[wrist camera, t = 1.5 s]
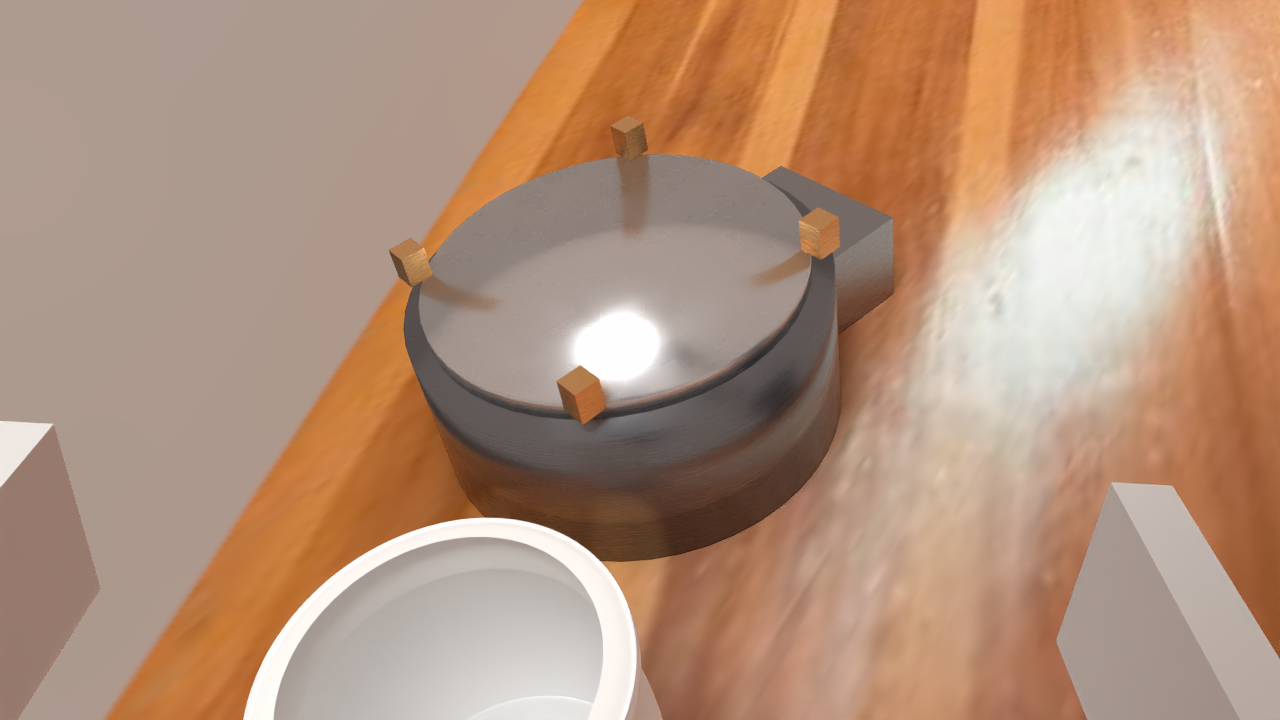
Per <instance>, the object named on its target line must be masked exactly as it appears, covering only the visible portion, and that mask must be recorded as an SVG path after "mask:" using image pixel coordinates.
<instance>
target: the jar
mask: <svg viewBox="0 0 1280 720" xmlns="http://www.w3.org/2000/svg"><path fill="white" fill-rule="evenodd" d="M244 720H663V718H662V715H661V712H660V709H659V706H658V704H657V701H656V698H655V696H654V693H653V691H652V689H651V686H650V684H649V682H648V680H647V678H646V676H645V674H644V672H643V670H642V668H641V653H640V644H639V638H638V633H637V629H636V626H635V622H634V619H633V616H632V613H631V611H630V608H629V606H628V604H627V602H626V600H625V597H624V595H623V593H622V591H621V589H620V587H619V586H618V584H617V582H616V581H615V579H614V578H613V576H612V575H611V574H610V572H609V571H608V570H607V568H606V567H605V566H604V565H603V564H602V563H601V562H600V561H599V560H598V559H597V558H596V557H595V556H594V555H593V554H592V553H591V552H590V551H588V550H587V549H586V548H584V547H583V546H582V545H580V544H579V543H577V542H576V541H574V540H573V539H571V538H569V537H567V536H565V535H563V534H561V533H559V532H557V531H555V530H552V529H550V528H547V527H544V526H541V525H537V524H534V523H530V522H525V521H520V520H513V519H504V518H472V519H462V520H455V521H449V522H444V523H440V524H435V525H432V526H428V527H424V528H421V529H418V530H415V531H412V532H409V533H407V534H404V535H402V536H399V537H397V538H395V539H392V540H390V541H388V542H386V543H384V544H382V545H380V546H378V547H376V548H374V549H372V550H371V551H369V552H367V553H365V554H364V555H362V556H361V557H359V558H357V559H356V560H354V561H353V562H351V563H350V564H348V565H347V566H346V567H344V568H343V569H341V570H340V571H339V572H337V573H336V574H335V575H334V576H332V577H331V578H330V579H329V580H328V581H326V582H325V583H324V584H323V585H322V586H321V587H320V588H319V589H317V590H316V591H315V592H314V593H313V594H312V595H311V596H310V597H309V598H308V599H307V600H306V601H305V602H304V604H303V605H302V606H301V607H300V608H299V609H298V610H297V611H296V613H295V614H294V615H293V616H292V617H291V619H290V620H289V621H288V622H287V624H286V625H285V626H284V628H283V629H282V631H281V632H280V634H279V635H278V636H277V638H276V640H275V641H274V643H273V644H272V646H271V648H270V649H269V651H268V653H267V655H266V657H265V658H264V660H263V662H262V664H261V667H260V669H259V671H258V673H257V675H256V678H255V680H254V683H253V686H252V689H251V692H250V695H249V698H248V702H247V705H246V710H245V714H244Z"/></svg>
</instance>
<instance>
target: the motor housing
mask: <svg viewBox="0 0 1280 720" xmlns="http://www.w3.org/2000/svg"><path fill="white" fill-rule="evenodd" d="M610 127H611V132H612V137H613V142H614V147H615V152H616V153H617V154H619V155H621V156H622V157H614V158H607V159H601V160H596V161H591V162H586V163H582V164H578V165H575V166H571V167H567V168H563V169H560V170H557V171H555V172H552V173H549V174H546V175H543V176H540V177H538V178H536V179H533V180H531V181H529V182H526V183H524V184H522V185H520V186H518V187H516V188H514V189H512V190H510V191H508V192H506V193H504V194H502V195H501V196H499V197H497V198H496V199H494V200H493V201H491V202H489V203H488V204H486V205H485V206H483V207H482V208H481V209H479V210H478V211H477V212H475V213H474V214H473V215H471V216H470V217H469V218H467V219H466V220H465V221H464V222H463V223H462V224H461V225H460V226H459V227H458V228H457V229H455V230H454V231H453V233H452V234H451V235H450V236H449V237H448V238H447V239H446V241H445V242H444V243H443V244H442V245H441V247H440V248H439V249H438V251H437V252H436V253H435V254H434V255H433V256H432V257H431V259H430V260H429V261H428V259H427V256H426V253H425V250H424V248H423V247H422V246H421V245H419V244H418V243H417V242H415V241H414V240H412V239H411V238H410V239H408V240H406V241H404V242H402V243H400V244H399V245H397V246H395V247H393V248H392V249H390V250H389V252H390V255H391V257H392V260H393V263H394V265H395V268H396V271H397V273H398V276H399V278H401V279H402V280H403V281H404V282H406V283H407V284H408V285H409V286H411V287H413V286H414V287H413V289H412V291H411V293H410V296H409V300H408V303H407V306H406V310H405V319H404V336H405V345H406V349H407V351H408V354H409V357H410V360H411V363H412V366H413V368H414V371H415V373H416V376H417V378H418V381H419V383H420V386H421V388H422V391H423V393H424V396H425V398H426V401H427V403H428V406H429V408H430V411H431V413H432V416H433V418H434V421H435V423H436V426H437V428H438V431H439V433H440V436H441V438H442V441H443V443H444V446H445V448H446V451H447V453H448V456H449V458H450V461H451V463H452V466H453V468H454V471H455V473H456V476H457V478H458V481H459V483H460V484H461V486H462V488H463V490H464V491H465V493H466V495H467V497H468V498H469V500H470V501H471V502H472V503H473V504H474V505H475V507H476V508H477V509H478V510H479V511H480V513H481V514H482V515H483V516H485V517H486V518H504V519H513V520H520V521H525V522H530V523H534V524H537V525H541V526H544V527H547V528H550V529H552V530H555V531H557V532H559V533H561V534H563V535H565V536H567V537H569V538H571V539H573V540H574V541H576V542H577V543H579V544H580V545H582V546H583V547H584V548H586V549H587V550H588V551H590V552H591V553H592V554H593V555H594V556H595V557H596V558H597V559H598V560H599V561H632V560H646V559H654V558H660V557H665V556H671V555H676V554H681V553H684V552H688V551H691V550H695V549H698V548H702V547H705V546H708V545H711V544H713V543H716V542H718V541H721V540H723V539H725V538H728V537H730V536H733V535H735V534H737V533H739V532H741V531H742V530H744V529H746V528H748V527H750V526H752V525H753V524H755V523H757V522H759V521H760V520H762V519H763V518H765V517H766V516H768V515H769V514H770V513H772V512H773V511H775V510H776V509H777V508H779V507H780V506H782V505H783V504H784V503H785V502H786V501H787V500H788V499H789V498H790V497H792V496H793V495H794V494H795V493H796V492H797V491H798V490H799V489H800V488H801V487H802V486H803V485H804V484H805V482H806V481H807V480H808V479H809V478H810V476H811V475H812V474H813V473H814V472H815V471H816V469H817V468H818V466H819V464H820V463H821V461H822V459H823V458H824V456H825V455H826V453H827V451H828V449H829V447H830V444H831V442H832V439H833V437H834V435H835V432H836V429H837V424H838V419H839V415H840V403H841V385H840V364H839V342H838V334H839V333H841V332H842V331H843V330H845V329H846V328H847V327H849V326H850V325H851V324H853V323H854V322H855V321H857V320H858V319H860V318H861V317H862V316H864V315H865V314H866V313H868V312H869V311H870V310H872V309H873V308H874V307H876V306H877V305H879V304H880V303H881V302H883V301H884V300H885V299H887V298H888V297H889V296H891V295H892V294H893V218H892V217H890V216H888V215H886V214H883V213H881V212H879V211H877V210H875V209H873V208H870V207H868V206H866V205H864V204H862V203H860V202H857V201H855V200H853V199H851V198H849V197H847V196H845V195H842V194H840V193H838V192H836V191H834V190H832V189H829V188H827V187H825V186H823V185H821V184H819V183H817V182H814V181H812V180H810V179H808V178H806V177H804V176H801V175H799V174H797V173H795V172H793V171H791V170H788V169H786V168H784V167H782V166H780V167H778V168H777V169H775V170H774V171H772V172H771V173H769V174H767V175H766V176H764V177H763V178H760V177H759V176H757V175H755V174H753V173H751V172H748V171H746V170H743V169H741V168H738V167H736V166H732V165H729V164H726V163H722V162H719V161H714V160H709V159H704V158H699V157H691V156H681V155H660V154H650V155H640V154H641V153H643V152H645V151H647V150H648V148H647V142H646V137H645V131H644V125H643V122H641V121H638V120H636V119H634V118H632V117H630V116H627V117H625V118H623V119H621V120H620V121H618V122H616V123H614V124H612V125H611V126H610Z"/></svg>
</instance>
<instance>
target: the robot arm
mask: <svg viewBox="0 0 1280 720" xmlns="http://www.w3.org/2000/svg"><path fill="white" fill-rule="evenodd" d="M100 589H101V588H100V585H99V581H98V578H97V574H96V571H95V567H94V564H93V561H92V557H91V553H90V550H89V547H88V543H87V539H86V536H85V532H84V529H83V526H82V522H81V518H80V515H79V512H78V508H77V504H76V501H75V497H74V494H73V490H72V487H71V483H70V480H69V476H68V473H67V469H66V466H65V462H64V459H63V456H62V452H61V448H60V445H59V441H58V438H57V434H56V431H55V427H54V424H43V423H25V422H7V421H0V720H18V718H19V716H20V715H21V713H22V712H23V710H24V708H25V707H26V705H27V704H28V702H29V701H30V699H31V698H32V696H33V694H34V692H35V691H36V690H37V688H38V686H39V685H40V683H41V682H42V680H43V679H44V677H45V675H46V674H47V672H48V671H49V669H50V668H51V666H52V664H53V663H54V661H55V660H56V658H57V657H58V655H59V653H60V652H61V650H62V649H63V647H64V646H65V644H66V642H67V641H68V639H69V638H70V636H71V634H72V633H73V631H74V629H75V628H76V627H77V625H78V623H79V622H80V620H81V619H82V617H83V616H84V614H85V612H86V611H87V609H88V608H89V606H90V604H91V603H92V601H93V600H94V598H95V597H96V595H97V593H98V592H99V590H100ZM1056 642H1057V645H1058V648H1059V650H1060V653H1061V655H1062V658H1063V660H1064V663H1065V665H1066V668H1067V670H1068V673H1069V675H1070V678H1071V680H1072V683H1073V685H1074V688H1075V690H1076V693H1077V695H1078V698H1079V700H1080V703H1081V705H1082V708H1083V711H1084V713H1085V716H1086V718H1087V720H1280V659H1279V657H1278V656H1277V654H1276V652H1275V651H1274V649H1273V647H1272V646H1271V644H1270V643H1269V641H1268V639H1267V638H1266V636H1265V635H1264V633H1263V631H1262V630H1261V628H1260V626H1259V625H1258V623H1257V622H1256V620H1255V618H1254V617H1253V615H1252V613H1251V612H1250V610H1249V609H1248V607H1247V605H1246V604H1245V602H1244V601H1243V599H1242V597H1241V596H1240V594H1239V592H1238V591H1237V589H1236V588H1235V586H1234V584H1233V583H1232V581H1231V580H1230V578H1229V576H1228V575H1227V573H1226V571H1225V570H1224V568H1223V567H1222V565H1221V563H1220V562H1219V560H1218V559H1217V557H1216V555H1215V554H1214V552H1213V550H1212V549H1211V547H1210V546H1209V544H1208V542H1207V541H1206V539H1205V538H1204V536H1203V534H1202V533H1201V531H1200V529H1199V528H1198V526H1197V525H1196V523H1195V521H1194V520H1193V518H1192V516H1191V515H1190V513H1189V512H1188V510H1187V508H1186V507H1185V505H1184V504H1183V502H1182V500H1181V499H1180V497H1179V495H1178V494H1177V492H1176V491H1175V489H1174V487H1173V486H1170V485H1151V484H1133V483H1115V482H1111V483H1110V486H1109V489H1108V492H1107V495H1106V498H1105V501H1104V503H1103V506H1102V509H1101V512H1100V515H1099V518H1098V521H1097V524H1096V527H1095V530H1094V532H1093V535H1092V538H1091V541H1090V544H1089V547H1088V550H1087V553H1086V556H1085V558H1084V561H1083V564H1082V567H1081V570H1080V573H1079V576H1078V579H1077V582H1076V584H1075V587H1074V590H1073V593H1072V596H1071V599H1070V602H1069V605H1068V608H1067V610H1066V613H1065V616H1064V619H1063V622H1062V625H1061V628H1060V631H1059V634H1058V636H1057V639H1056Z"/></svg>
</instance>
